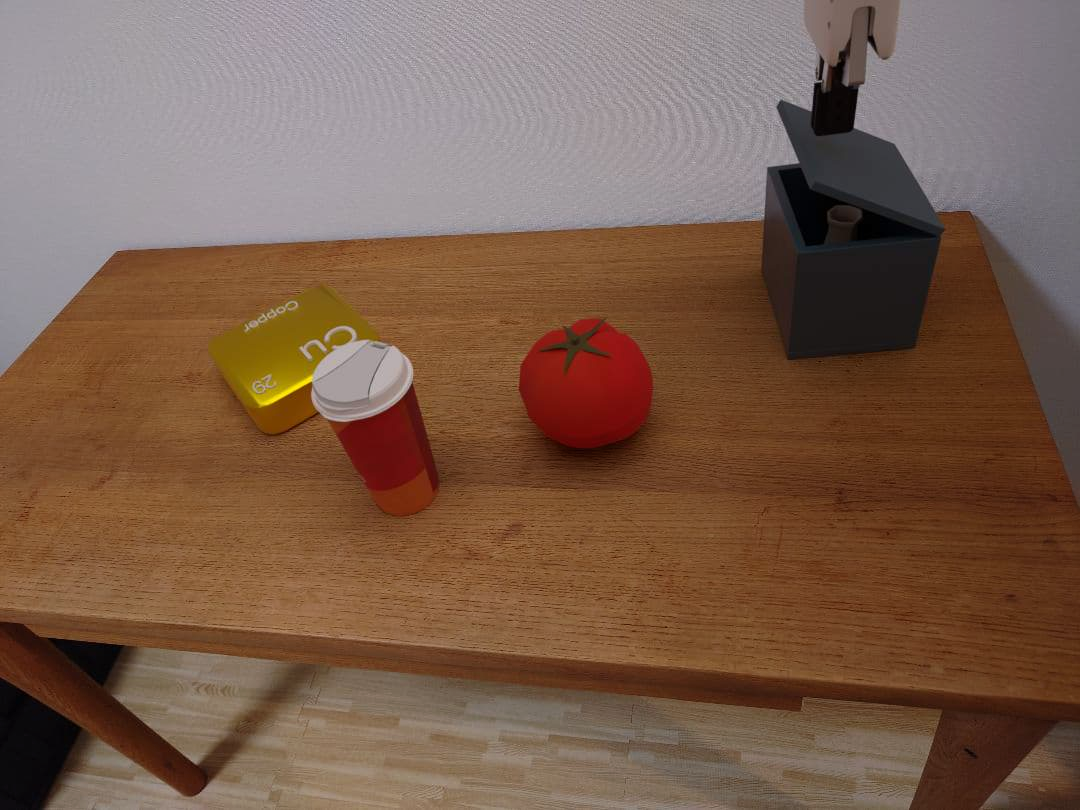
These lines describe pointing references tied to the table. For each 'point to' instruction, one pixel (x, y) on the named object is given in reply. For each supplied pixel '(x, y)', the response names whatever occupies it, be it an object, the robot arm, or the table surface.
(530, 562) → the table surface
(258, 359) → the element tile
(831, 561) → the table surface
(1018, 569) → the table surface
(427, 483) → the coffee cup
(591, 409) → the tomato
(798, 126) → the lid
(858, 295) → the cool box
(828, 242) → the flask
